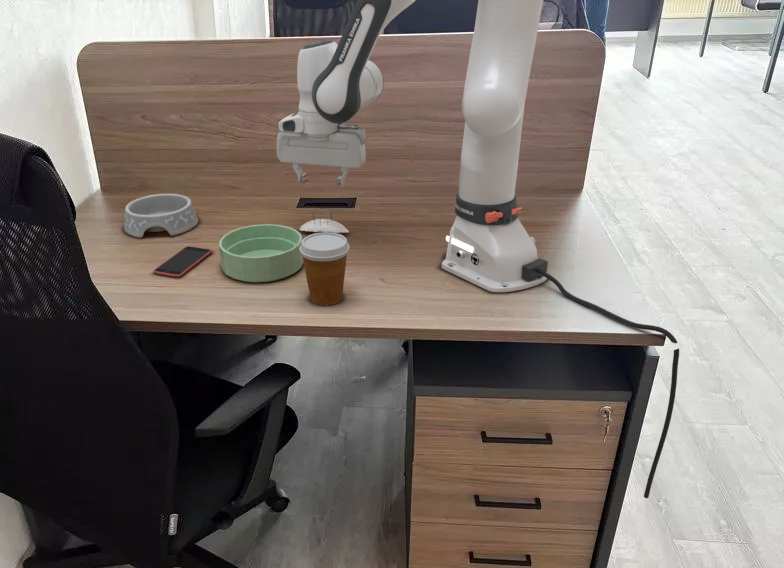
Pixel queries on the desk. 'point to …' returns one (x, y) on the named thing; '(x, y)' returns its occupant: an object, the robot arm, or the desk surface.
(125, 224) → the dog bowl
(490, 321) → the desk surface
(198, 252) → the smartphone
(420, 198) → the desk surface
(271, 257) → the bowl
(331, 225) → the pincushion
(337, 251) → the disposable coffee cup
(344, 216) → the desk surface
